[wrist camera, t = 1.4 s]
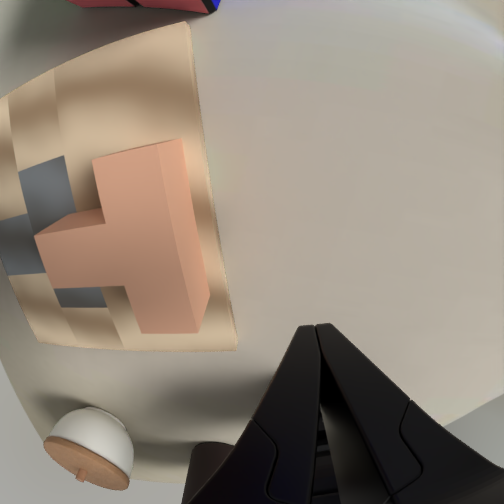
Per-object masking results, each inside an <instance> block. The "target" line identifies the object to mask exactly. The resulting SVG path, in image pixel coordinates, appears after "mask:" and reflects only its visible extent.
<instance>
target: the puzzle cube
mask: <svg viewBox="0 0 504 504" xmlns="http://www.w3.org/2000/svg"><path fill="white" fill-rule="evenodd" d="M66 1H69V2H71V3H73V4H76V5H78V6H80V7H83V8H85V7H112V6H126V7H136V6H137V5H139V4H141V5H142V6H144V7H153V8H166V9H177V10H186V11H194V12H201V13H208V14H210V13H212V12H214V11H216V10H217V8H218V6H219V3H220V1H221V0H66Z"/></svg>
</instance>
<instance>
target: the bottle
mask: <svg viewBox="0 0 504 504" xmlns="http://www.w3.org/2000/svg"><path fill="white" fill-rule="evenodd" d="M233 448H234V446H232V445H228V444H223V443H203V444H200V445H198V446H195V448H194V449H193V450H192V454H191V459H190V464H189V469H188V473H187V478H186V483H185V488H184V493H183V498H182V503H181V504H187V503H188V502H189V501H190V500H191V499H192V498H193V496H194V495H195V494H196V493H197V492H198V491H199V490H200V489H201V487H202V486H203V485H204V484H205V483H206V482H207V481H208V479H209V478H210V477H211V476H212V475H213V474H214V472H215V471H216V470H217V469H218V468H219V466H220V465H221V464H222V462H223V461H224V460H225V459H226V457H227V456H228V455H229V453H230V452H231V451H232V449H233Z"/></svg>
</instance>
